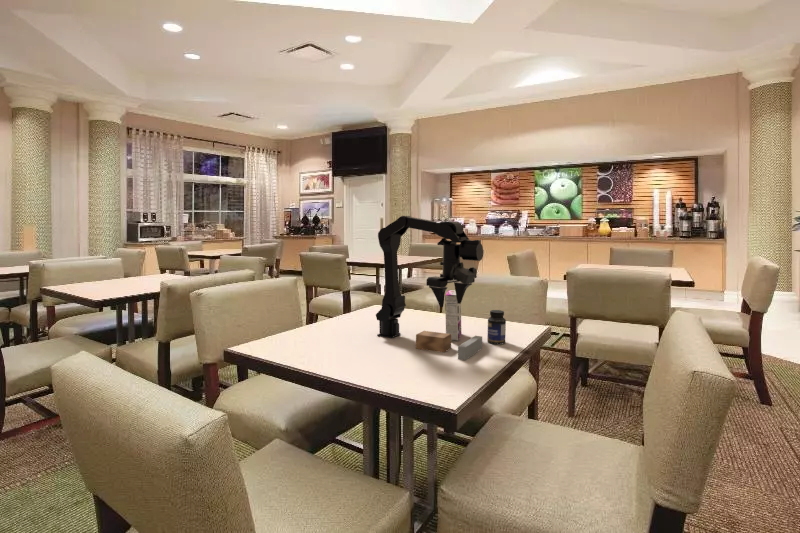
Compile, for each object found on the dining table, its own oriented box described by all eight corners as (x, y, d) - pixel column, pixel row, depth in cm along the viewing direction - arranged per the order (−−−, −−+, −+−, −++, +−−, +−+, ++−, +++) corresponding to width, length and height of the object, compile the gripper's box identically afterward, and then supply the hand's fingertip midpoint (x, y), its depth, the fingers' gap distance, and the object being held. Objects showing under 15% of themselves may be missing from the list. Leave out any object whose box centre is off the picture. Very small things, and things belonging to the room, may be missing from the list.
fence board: (458, 359, 145) (458, 346, 145) (475, 347, 158) (475, 335, 158) (465, 360, 144) (465, 347, 144) (482, 348, 157) (482, 336, 157)
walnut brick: (416, 349, 157) (416, 334, 157) (423, 345, 162) (423, 330, 162) (443, 353, 152) (443, 338, 152) (451, 348, 158) (451, 333, 157)
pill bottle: (483, 342, 164) (484, 311, 163) (493, 339, 169) (493, 308, 168) (499, 345, 160) (500, 313, 159) (508, 342, 164) (509, 311, 163)
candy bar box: (448, 333, 178) (447, 289, 176) (461, 333, 177) (461, 290, 175) (445, 340, 167) (444, 294, 166) (459, 341, 166) (459, 294, 165)
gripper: (451, 263, 146) (450, 312, 148) (488, 259, 159) (486, 305, 161) (425, 260, 154) (424, 307, 156) (462, 256, 167) (461, 300, 169)
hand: (450, 305), depth 160 cm, fingers open, 9 cm apart
